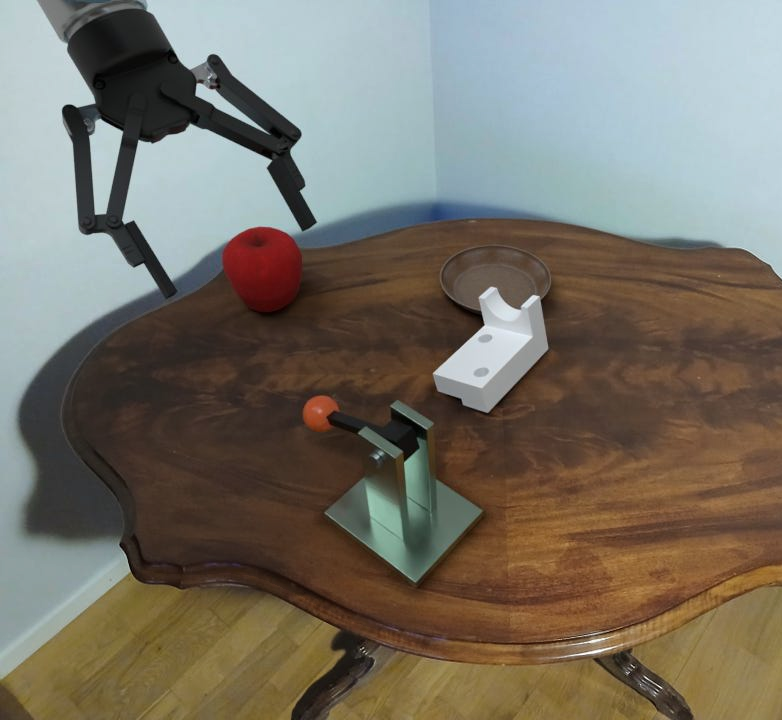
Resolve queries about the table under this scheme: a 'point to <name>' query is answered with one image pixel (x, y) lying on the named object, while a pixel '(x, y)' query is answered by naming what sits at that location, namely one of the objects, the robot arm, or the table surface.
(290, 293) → the apple
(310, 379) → the table surface
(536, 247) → the table surface
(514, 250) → the saucer
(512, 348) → the bracket
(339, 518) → the clamp
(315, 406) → the clamp lever
